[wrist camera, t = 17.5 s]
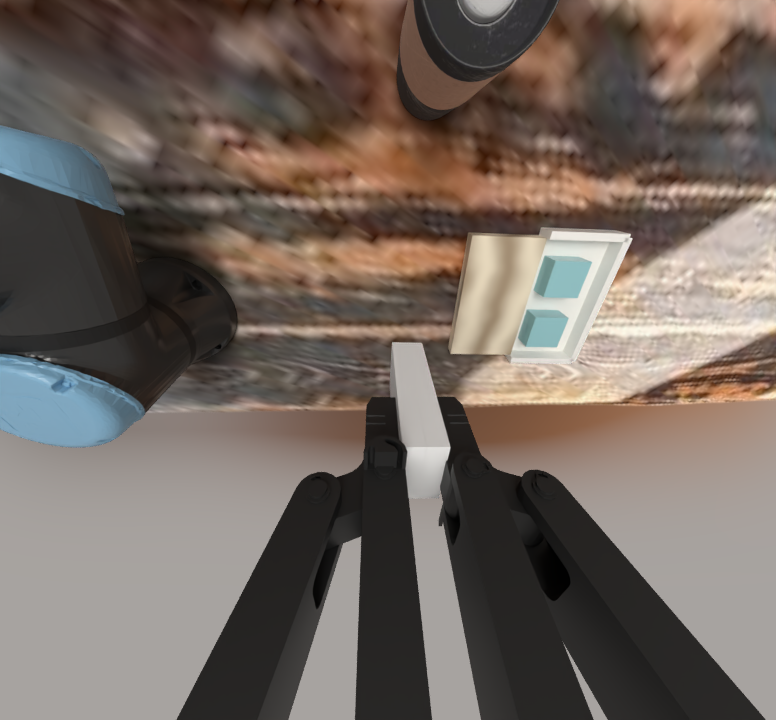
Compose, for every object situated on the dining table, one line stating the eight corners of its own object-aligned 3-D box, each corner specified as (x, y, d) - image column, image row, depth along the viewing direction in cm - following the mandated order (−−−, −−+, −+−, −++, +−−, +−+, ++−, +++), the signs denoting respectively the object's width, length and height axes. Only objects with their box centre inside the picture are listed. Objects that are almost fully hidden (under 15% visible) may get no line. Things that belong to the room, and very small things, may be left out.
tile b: (517, 337, 48) (525, 346, 45) (526, 309, 45) (535, 317, 42) (547, 338, 48) (556, 347, 45) (558, 310, 45) (568, 318, 43)
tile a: (533, 290, 43) (543, 297, 41) (544, 255, 41) (555, 260, 38) (565, 290, 44) (577, 298, 41) (579, 256, 41) (592, 262, 38)
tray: (503, 353, 50) (510, 363, 47) (541, 227, 39) (552, 231, 37) (564, 354, 51) (574, 363, 48) (618, 230, 40) (634, 234, 37)
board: (448, 347, 49) (450, 353, 47) (468, 232, 39) (472, 235, 38) (505, 348, 49) (510, 354, 48) (540, 235, 40) (547, 238, 38)
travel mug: (478, 88, 31) (598, -10, 15) (419, 140, 34) (463, 109, 17) (442, 1, 28) (545, -258, 11) (379, 66, 30) (384, -67, 13)
